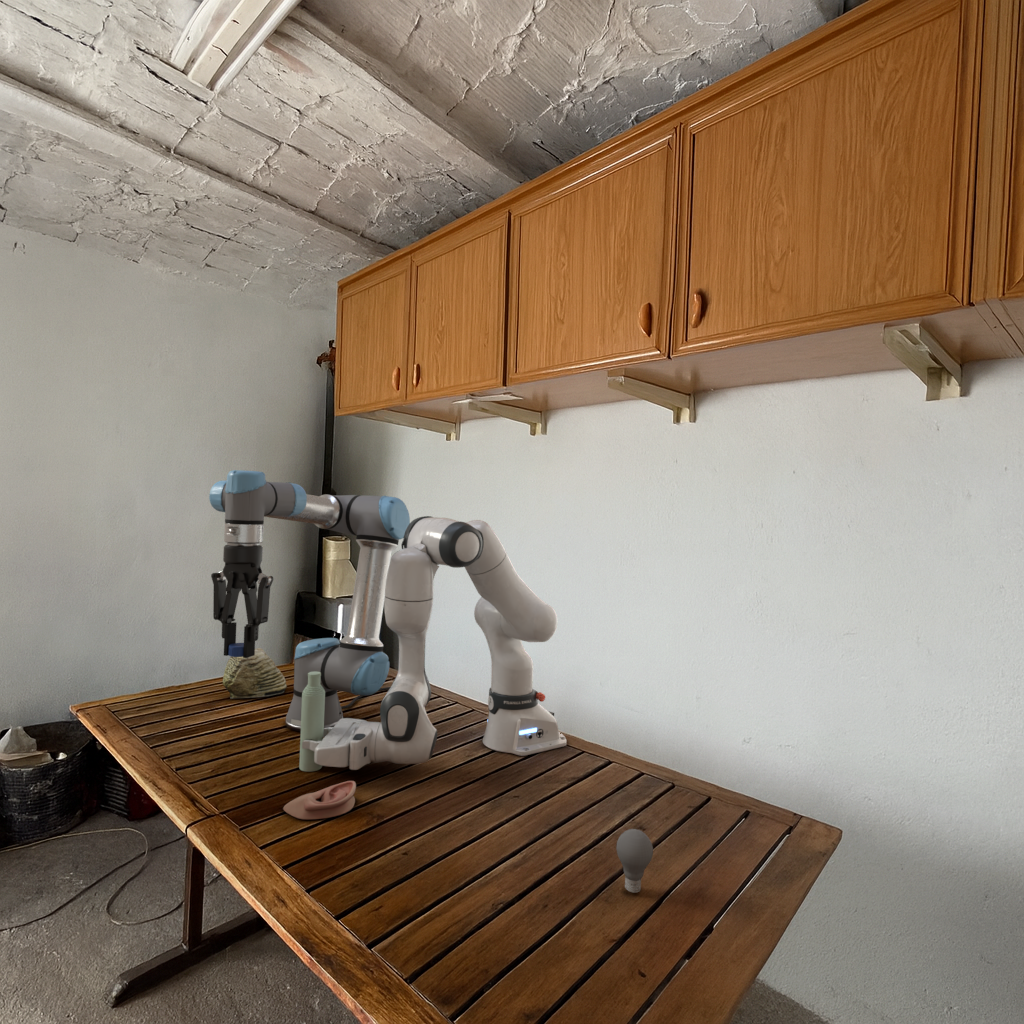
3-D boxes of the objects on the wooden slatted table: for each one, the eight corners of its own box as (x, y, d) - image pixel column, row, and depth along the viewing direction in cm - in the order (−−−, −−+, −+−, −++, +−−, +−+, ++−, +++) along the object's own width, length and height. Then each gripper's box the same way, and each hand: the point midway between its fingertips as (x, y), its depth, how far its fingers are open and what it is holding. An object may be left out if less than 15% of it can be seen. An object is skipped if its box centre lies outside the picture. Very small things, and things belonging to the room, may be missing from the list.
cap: (224, 656, 131) (224, 646, 131) (235, 651, 135) (235, 642, 135) (242, 657, 131) (243, 647, 131) (253, 653, 135) (253, 643, 135)
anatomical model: (275, 795, 125) (305, 771, 136) (274, 815, 125) (304, 789, 136) (337, 804, 122) (363, 779, 133) (336, 825, 122) (362, 798, 133)
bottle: (320, 761, 151) (323, 669, 151) (324, 769, 147) (327, 674, 146) (297, 764, 149) (301, 671, 149) (301, 773, 145) (304, 676, 144)
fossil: (218, 695, 195) (220, 647, 195) (278, 685, 208) (279, 640, 207) (228, 703, 189) (230, 653, 188) (289, 692, 201) (290, 645, 201)
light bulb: (610, 879, 108) (613, 822, 108) (644, 879, 109) (647, 822, 109) (619, 902, 102) (622, 840, 102) (655, 901, 103) (658, 840, 103)
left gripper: (195, 542, 131) (191, 655, 131) (268, 547, 127) (263, 663, 127) (220, 540, 138) (216, 647, 139) (290, 545, 134) (285, 655, 135)
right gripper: (378, 713, 158) (323, 710, 158) (355, 744, 137) (292, 741, 138) (377, 738, 158) (322, 735, 158) (354, 773, 138) (291, 770, 138)
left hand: (239, 655), depth 133 cm, fingers closed on cap, 4 cm apart
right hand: (308, 738), depth 148 cm, fingers closed on bottle, 5 cm apart
